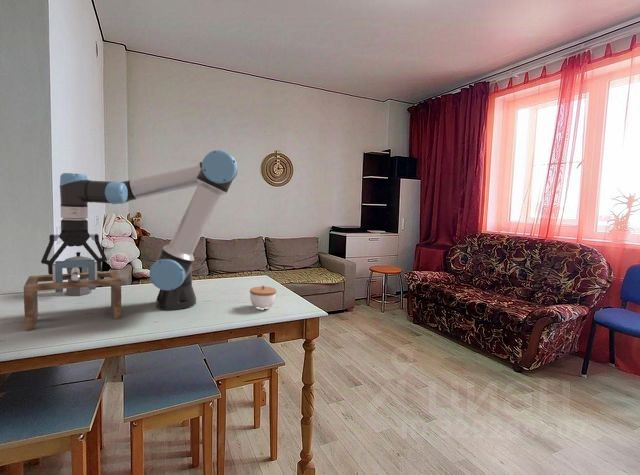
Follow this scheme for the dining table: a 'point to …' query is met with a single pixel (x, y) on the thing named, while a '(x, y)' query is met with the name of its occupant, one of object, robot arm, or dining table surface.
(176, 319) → the dining table surface
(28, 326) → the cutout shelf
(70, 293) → the coffeepot
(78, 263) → the blue square arch
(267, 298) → the lidded jar
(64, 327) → the dining table surface
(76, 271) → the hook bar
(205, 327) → the dining table surface
